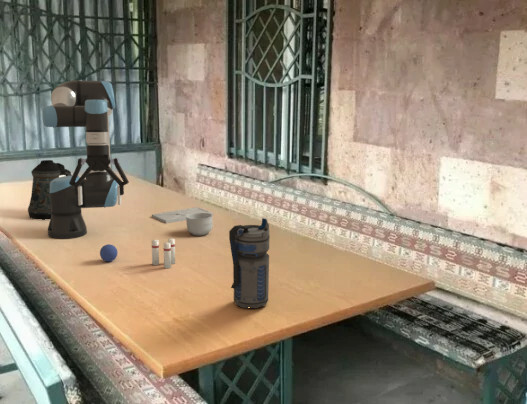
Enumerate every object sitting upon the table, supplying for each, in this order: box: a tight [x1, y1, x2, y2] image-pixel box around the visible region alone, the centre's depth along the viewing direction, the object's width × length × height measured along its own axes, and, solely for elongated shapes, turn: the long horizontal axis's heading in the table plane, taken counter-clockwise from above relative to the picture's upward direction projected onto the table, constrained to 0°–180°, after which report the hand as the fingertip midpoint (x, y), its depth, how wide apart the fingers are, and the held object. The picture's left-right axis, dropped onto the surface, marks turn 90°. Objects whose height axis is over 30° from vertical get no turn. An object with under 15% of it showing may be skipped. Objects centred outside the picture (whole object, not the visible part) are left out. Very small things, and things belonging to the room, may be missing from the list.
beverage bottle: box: [228, 217, 271, 309], centre depth 176 cm, size 10×13×25 cm
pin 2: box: [167, 238, 176, 265], centre depth 214 cm, size 2×2×8 cm
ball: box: [99, 244, 118, 262], centre depth 215 cm, size 6×6×6 cm
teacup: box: [185, 212, 213, 237], centre depth 253 cm, size 14×11×8 cm
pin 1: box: [162, 242, 172, 269], centre depth 209 cm, size 2×2×8 cm
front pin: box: [151, 239, 160, 266], centre depth 213 cm, size 2×2×8 cm
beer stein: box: [27, 159, 72, 221], centre depth 277 cm, size 16×19×25 cm
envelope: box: [151, 206, 214, 224], centre depth 281 cm, size 24×2×14 cm
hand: (100, 204), depth 217 cm, fingers open, 13 cm apart
